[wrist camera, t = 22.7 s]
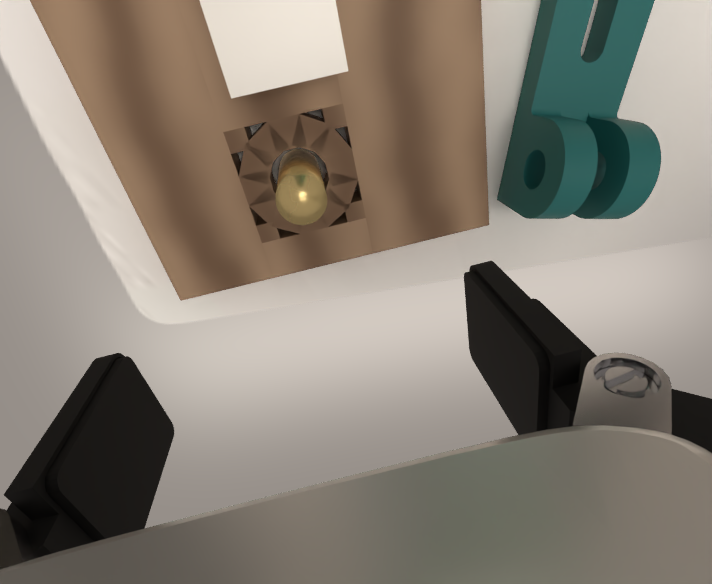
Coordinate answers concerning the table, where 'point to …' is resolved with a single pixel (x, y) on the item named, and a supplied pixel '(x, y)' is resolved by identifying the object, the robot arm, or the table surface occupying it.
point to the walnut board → (282, 133)
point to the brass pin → (300, 188)
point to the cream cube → (274, 42)
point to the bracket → (580, 117)
